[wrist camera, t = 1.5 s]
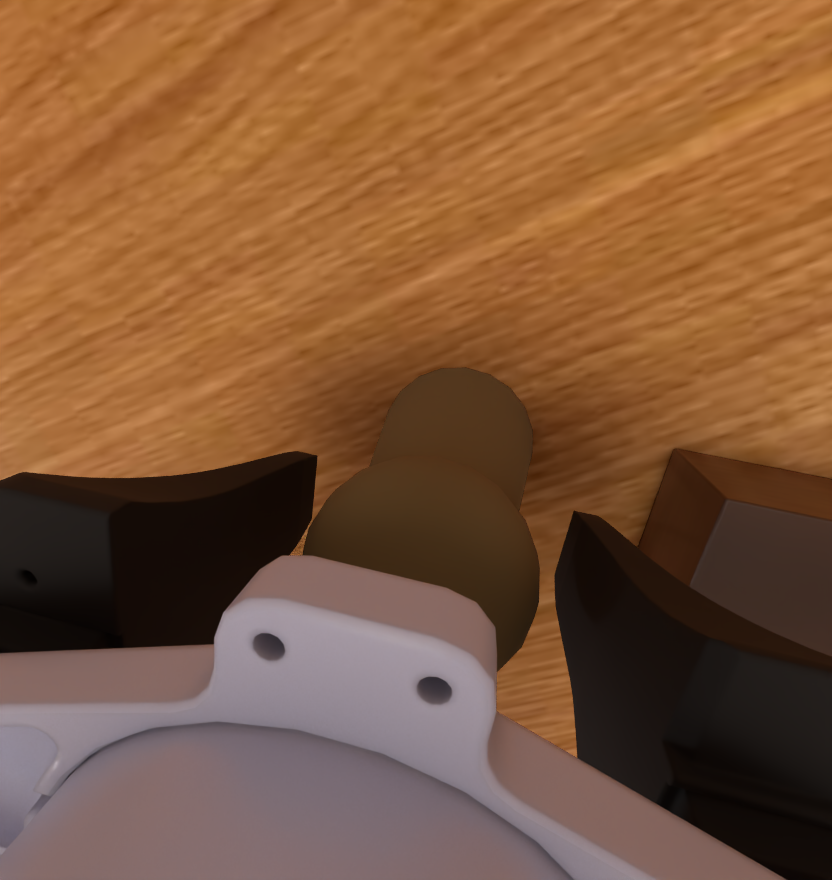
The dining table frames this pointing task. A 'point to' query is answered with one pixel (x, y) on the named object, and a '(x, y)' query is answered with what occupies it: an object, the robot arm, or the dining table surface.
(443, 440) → the olive rounded upright piece
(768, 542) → the walnut block
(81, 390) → the dining table surface
